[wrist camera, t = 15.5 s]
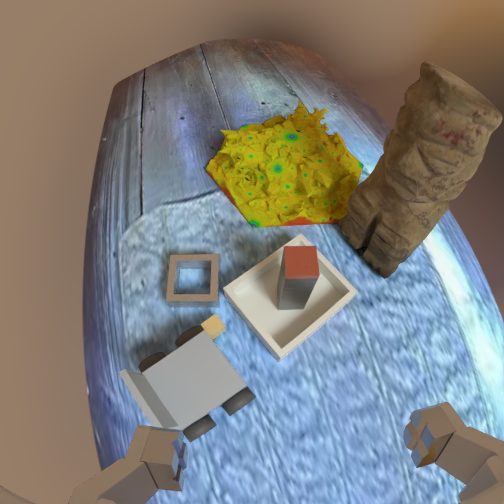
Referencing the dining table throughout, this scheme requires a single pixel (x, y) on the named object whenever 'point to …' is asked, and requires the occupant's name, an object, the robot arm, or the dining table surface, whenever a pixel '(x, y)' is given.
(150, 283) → the dining table surface
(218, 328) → the block
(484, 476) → the robot arm
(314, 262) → the pin
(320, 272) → the tray
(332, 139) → the decorative piece
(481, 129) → the sculpture
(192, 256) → the bracket
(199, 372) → the trolley
